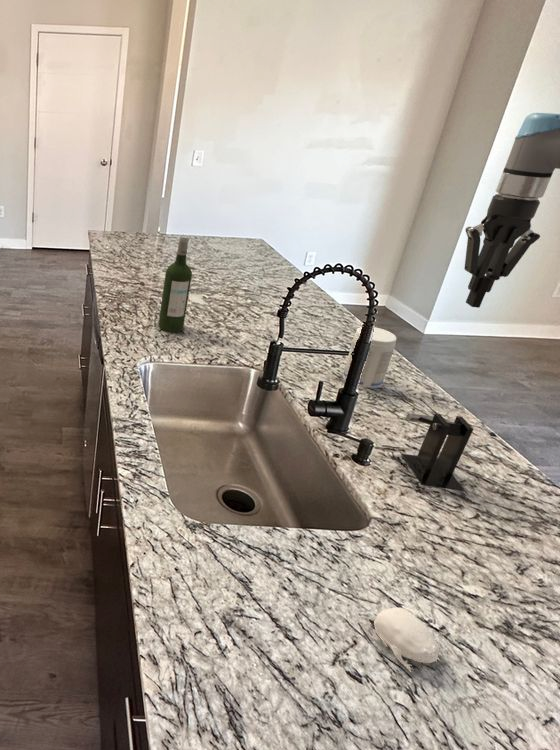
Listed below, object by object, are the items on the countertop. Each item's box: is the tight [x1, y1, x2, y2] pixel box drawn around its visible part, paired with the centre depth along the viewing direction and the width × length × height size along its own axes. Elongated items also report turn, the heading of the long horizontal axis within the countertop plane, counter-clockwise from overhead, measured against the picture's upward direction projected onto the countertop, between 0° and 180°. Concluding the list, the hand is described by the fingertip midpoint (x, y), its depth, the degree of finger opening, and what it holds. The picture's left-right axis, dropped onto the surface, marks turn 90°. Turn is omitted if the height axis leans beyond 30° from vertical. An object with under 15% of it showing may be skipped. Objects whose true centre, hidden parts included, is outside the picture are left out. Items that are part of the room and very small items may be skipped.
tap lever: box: [405, 412, 461, 437], centre depth 112 cm, size 13×5×2 cm, turn 170°
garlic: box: [373, 607, 442, 673], centre depth 77 cm, size 8×7×4 cm
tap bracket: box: [400, 413, 474, 492], centre depth 109 cm, size 10×8×14 cm
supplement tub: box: [342, 326, 398, 389], centre depth 143 cm, size 10×10×15 cm
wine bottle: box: [158, 235, 193, 333], centre depth 167 cm, size 8×8×30 cm
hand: (472, 304), depth 117 cm, fingers closed
